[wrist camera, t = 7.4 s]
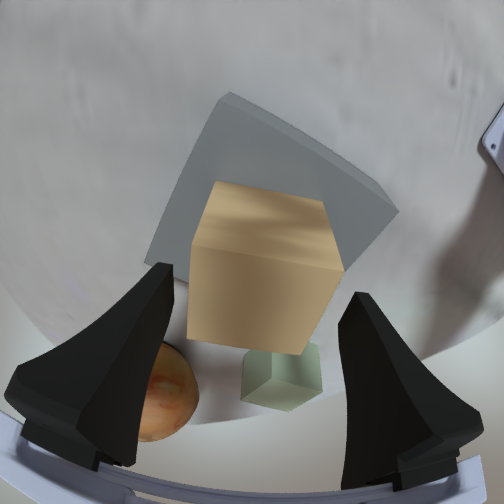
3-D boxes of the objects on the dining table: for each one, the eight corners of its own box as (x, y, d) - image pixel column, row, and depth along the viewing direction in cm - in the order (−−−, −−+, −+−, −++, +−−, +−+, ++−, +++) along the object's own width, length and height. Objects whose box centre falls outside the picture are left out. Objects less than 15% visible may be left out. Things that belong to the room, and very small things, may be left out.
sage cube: (318, 344, 26) (322, 391, 22) (287, 368, 28) (287, 412, 24) (272, 327, 25) (271, 378, 20) (244, 354, 27) (240, 400, 23)
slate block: (375, 180, 17) (399, 211, 13) (288, 285, 22) (290, 326, 19) (231, 90, 14) (219, 99, 11) (163, 226, 19) (143, 262, 16)
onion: (105, 307, 24) (63, 399, 16) (209, 330, 25) (190, 437, 17) (120, 361, 30) (96, 436, 22) (203, 380, 31) (190, 461, 23)
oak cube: (322, 201, 13) (344, 271, 9) (294, 280, 16) (300, 355, 12) (215, 180, 13) (191, 244, 9) (205, 264, 16) (186, 338, 12)
